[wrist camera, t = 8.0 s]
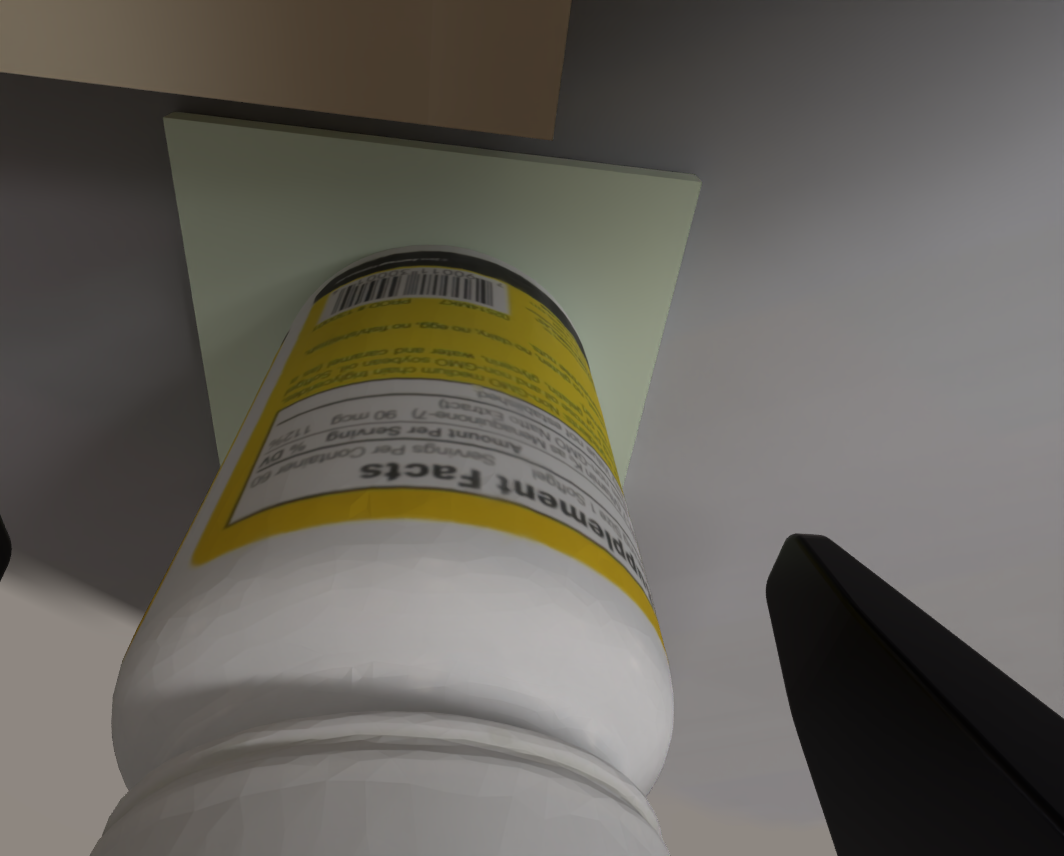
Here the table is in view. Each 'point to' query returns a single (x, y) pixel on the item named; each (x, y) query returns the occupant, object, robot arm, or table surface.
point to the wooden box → (311, 54)
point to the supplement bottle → (404, 598)
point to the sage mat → (418, 242)
